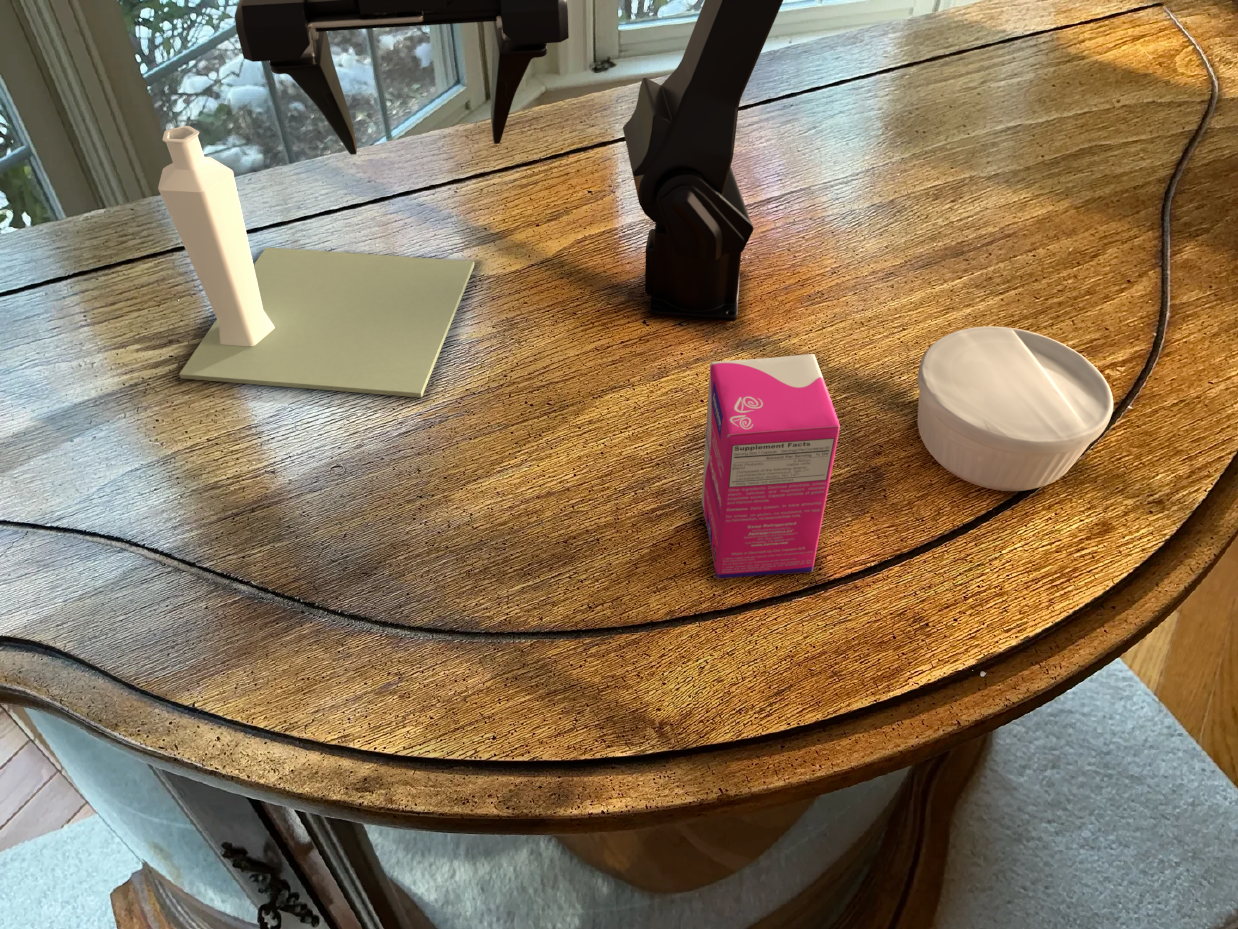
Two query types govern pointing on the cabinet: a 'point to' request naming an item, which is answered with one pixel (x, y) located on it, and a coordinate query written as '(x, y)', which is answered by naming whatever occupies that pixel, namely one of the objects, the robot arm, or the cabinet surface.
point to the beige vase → (214, 236)
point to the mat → (342, 323)
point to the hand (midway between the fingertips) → (425, 146)
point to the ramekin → (1009, 406)
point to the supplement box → (767, 464)
